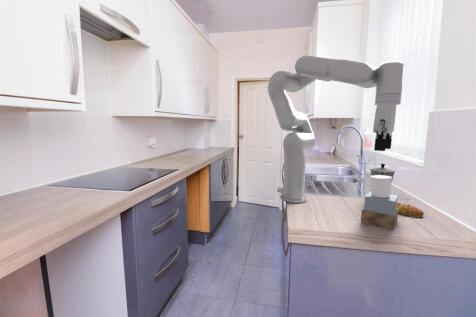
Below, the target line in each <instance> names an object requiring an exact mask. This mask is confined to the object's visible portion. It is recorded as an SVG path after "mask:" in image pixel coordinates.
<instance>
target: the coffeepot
mask: <svg viewBox="0 0 476 317" xmlns="http://www.w3.org/2000/svg"><path fill="white" fill-rule="evenodd" d="M385 165H386V164H385V163H380V167H374V168H370V176H372V175H387V176H391V177H392V181H393V180H394V175H395V172H396V171H394V170H393V169H390V168H386V167H385Z"/></svg>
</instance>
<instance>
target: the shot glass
mask: <svg viewBox="0 0 476 317" xmlns="http://www.w3.org/2000/svg"><path fill="white" fill-rule="evenodd" d="M369 183H370V191H371V194H372V196H374V197H379V198H388V197H390V194H391V191H392V190H391V188H392V184H393V180H392V177H391V176H387V175H372V176H371V175H370V176H369Z"/></svg>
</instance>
